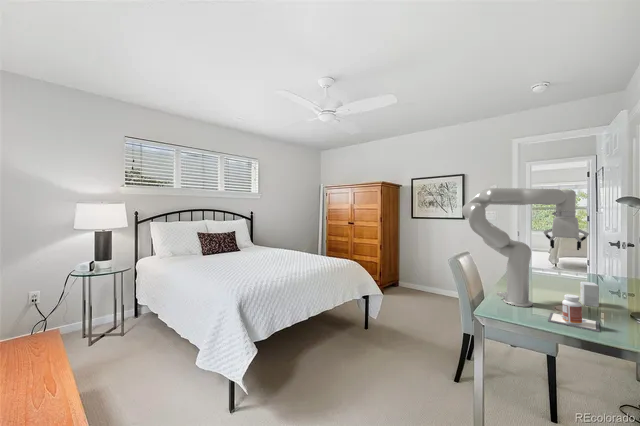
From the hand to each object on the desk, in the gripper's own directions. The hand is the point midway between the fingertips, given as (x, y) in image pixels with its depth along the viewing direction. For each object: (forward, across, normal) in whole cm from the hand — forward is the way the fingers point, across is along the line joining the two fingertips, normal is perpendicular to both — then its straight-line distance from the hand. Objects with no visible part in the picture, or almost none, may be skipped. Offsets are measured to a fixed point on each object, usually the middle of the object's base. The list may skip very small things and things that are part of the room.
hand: (565, 249), depth 145 cm
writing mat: (+28, +4, -26) cm, 39 cm away
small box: (+29, +9, +11) cm, 32 cm away
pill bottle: (+28, +4, -29) cm, 40 cm away
